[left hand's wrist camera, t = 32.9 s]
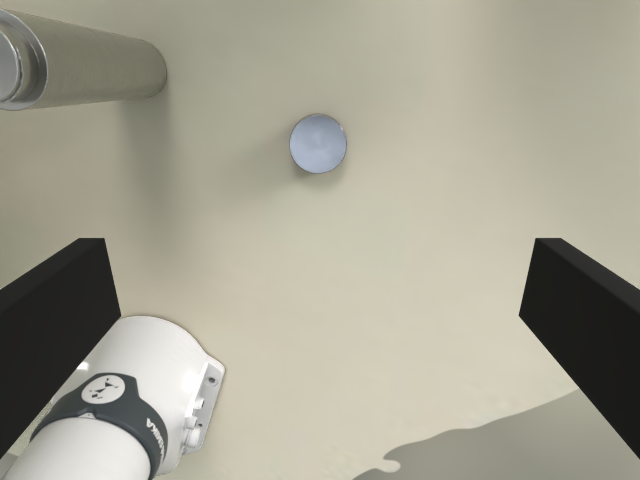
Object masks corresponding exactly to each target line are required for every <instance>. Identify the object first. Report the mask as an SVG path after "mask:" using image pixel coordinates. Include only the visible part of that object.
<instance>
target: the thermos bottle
mask: <svg viewBox="0 0 640 480" xmlns="http://www.w3.org/2000/svg"><path fill="white" fill-rule="evenodd" d="M166 75H167V72H166V65H165V62H164V59H163V57H162V56H161V54H160V53H159V51H158V50H157V49H156V48H155V47H154V46H153V45H151V44H150V43H148V42H146V41H143V40H140V39H135V38H131V37H126V36H122V35H117V34H113V33H108V32H104V31H99V30H95V29H91V28H86V27H82V26H77V25H73V24H68V23H64V22H59V21H55V20H50V19H46V18H42V17H37V16H33V15H28V14H24V13H19V12H15V11H10V10H6V9H1V8H0V109H3V110H10V111H17V110H28V109H38V108H48V107H58V106H67V105H77V104H87V103H97V102H107V101H117V100H127V99H137V98H147V97H151V96H154V95H155V94H157V93H158V92H159V91H160V90H161V89H162V88H163V86H164V84H165V81H166Z"/></svg>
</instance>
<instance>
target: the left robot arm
mask: <svg viewBox="0 0 640 480" xmlns="http://www.w3.org/2000/svg"><path fill="white" fill-rule="evenodd" d="M120 317H121V312H120V307H119V303H118V298H117V294H116V289H115V285H114V280H113V276H112V271H111V266H110V262H109V257H108V253H107V248H106V244H105V239H104V238H79V239H77V240H76V241H74V242H72V243H71V244H69V245H68V246H66V247H65V248H63V249H62V250H60V251H59V252H57V253H56V254H54V255H53V256H51V257H50V258H48V259H47V260H45V261H44V262H42V263H40V264H39V265H37V266H36V267H34V268H33V269H31V270H30V271H28V272H27V273H25V274H24V275H22V276H21V277H19V278H18V279H16V280H15V281H13V282H12V283H10V284H9V285H7V286H5V287H4V288H2V289H1V290H0V459H1V458H2V457H3V455H4V454H5V453H6V452H7V451H8V450H9V448H10V447H11V446H12V445H13V444H14V442H15V441H16V440H17V439H18V438H19V436H20V435H21V434H22V433H23V432H24V431H25V429H26V428H27V427H28V426H29V425H30V423H31V422H32V421H33V420H34V419H35V417H36V416H37V415H38V414H39V413H40V412H41V410H42V409H43V408H44V407H45V406H46V404H47V403H48V402H49V401H50V400H51V399H52V397H53V396H54V395H55V394H56V393H57V391H58V390H59V389H60V388H61V387H62V385H63V384H64V383H65V382H66V381H67V380H68V378H69V377H70V376H71V375H72V374H73V372H74V371H75V370H76V369H77V368H78V366H79V365H80V364H81V363H82V362H83V361H84V359H85V358H86V357H87V356H88V355H89V353H90V352H91V351H92V350H93V349H94V347H95V346H96V345H97V344H98V343H99V342H100V340H101V339H102V338H103V337H104V336H105V334H106V333H107V332H108V331H109V330H110V329H111V327H112V326H113V325H114V324H115V323H116V321H117V320H118V319H119V318H120ZM519 317H520V318H521V319H522V320H523V321H524V323H525V324H526V325H527V326H528V327H529V329H530V330H531V331H532V332H533V333H534V334H535V336H536V337H537V338H538V339H539V340H540V342H541V343H542V344H543V345H544V346H545V347H546V349H547V350H548V351H549V352H550V353H551V355H552V356H553V357H554V358H555V359H556V361H557V362H558V363H559V364H560V365H561V366H562V368H563V369H564V370H565V371H566V372H567V374H568V375H569V376H570V377H571V378H572V380H573V381H574V382H575V383H576V384H577V385H578V387H579V388H580V389H581V390H582V391H583V393H584V394H585V395H586V396H587V397H588V399H589V400H590V401H591V402H592V403H593V404H594V406H595V407H596V408H597V409H598V410H599V412H600V413H601V414H602V415H603V416H604V417H605V419H606V420H607V421H608V422H609V423H610V425H611V426H612V427H613V428H614V429H615V431H616V432H617V433H618V434H619V435H620V436H621V438H622V439H623V440H624V441H625V442H626V444H627V445H628V446H629V447H630V448H631V449H632V451H633V452H634V453H635V454H636V455H637V457H638V458H639V459H640V290H639V289H638V288H636V287H635V286H633V285H631V284H630V283H628V282H627V281H625V280H624V279H622V278H621V277H619V276H618V275H616V274H615V273H613V272H612V271H610V270H609V269H607V268H606V267H604V266H603V265H601V264H600V263H598V262H596V261H595V260H593V259H592V258H590V257H589V256H587V255H586V254H584V253H583V252H581V251H580V250H578V249H577V248H575V247H574V246H572V245H571V244H569V243H568V242H566V241H564V240H563V239H561V238H536V239H535V244H534V248H533V253H532V257H531V262H530V266H529V271H528V276H527V280H526V285H525V289H524V294H523V298H522V303H521V307H520V312H519Z"/></svg>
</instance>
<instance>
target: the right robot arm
mask: <svg viewBox="0 0 640 480" xmlns="http://www.w3.org/2000/svg"><path fill="white" fill-rule="evenodd" d="M224 373H225V368H224V366H223V365H222V364H221V363H220V362H218V361H217V360H215V359H214V358H212V357H211V356H209V355H207V354H206V353H205V351H204V350H203V349H202V348H201V346H200V345H199V344H198V342H197V341H196V340H195V339H194V338H193V337H192V336H191V335H190V334H189V333H188V332H187V331H185V330H184V329H182V328H181V327H179V326H177V325H176V324H174V323H171V322H169V321H167V320H164V319H160V318H156V317H150V316H131V317H126V318H122V319H119V320H117V321H116V323H115V324H114V325H113V326H112V327H111V329H110V330H109V331H108V332H107V333H106V334H105V336H104V337H103V338H102V339H101V340H100V342H99V343H98V344H97V345H96V346H95V347H94V349H93V350H92V351H91V352H90V353H89V355H88V356H87V357H86V358H85V359H84V361H83V362H82V363H81V364H80V365H79V366H78V368H77V369H76V370H75V371H74V372H73V374H72V375H71V376H70V377H69V378H68V380H67V381H66V382H65V383H64V384H63V385H62V387H61V388H60V389H59V390H58V391H57V393H56V394H55V395H54V396H53V397H52V399H51V404H52V408H50V409H49V411H48V412H47V413H46V414H45V415H44V416H43V418H42V419H41V420H40V422H39V424H38V426H37V428H36V429H35V430H34V432H33V434H32V436H31V438H30V443H29V445H28V446H27V447H26V449H25V450H24V451H23V452H22V454H21V455H20V456H19V457H18V459H17V460H16V461H15V462H14V464H13V465H12V466H11V467H10V469H9V470H8V471H7V472H6V474H5V475H4V476H3V478H2V479H1V480H152V479H153V478H155V476H158V475H163V474H166V473H168V472H171V471H172V470H174V469H175V468H176V466H177V464H178V462H179V459H180V457H181V455H184V454H189V453H192V452H195V451H198V450H199V449H200V448H201V446H202V444H203V442H204V438H205V435H206V432H207V429H208V425H209V422H210V419H211V416H212V412H213V409H214V406H215V403H216V399H217V396H218V393H219V390H220V386H221V383H222V380H223V376H224ZM211 378H214V379H211Z"/></svg>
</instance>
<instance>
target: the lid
mask: <svg viewBox="0 0 640 480" xmlns="http://www.w3.org/2000/svg"><path fill="white" fill-rule="evenodd" d="M289 146H290V152H291V155H292V157H293V159H294V161H295V162H296V163H297V164H298V165H299V166H300V167H301V168H302V169H304V170H306V171H308V172H311V173H325V172H328V171H330V170H332V169H334V168H335V167H337V166H338V165H339V164H340V162H341V161H342V159H343V158H344V156H345V153H346V148H347V141H346V136H345V133H344V131H343V129H342V127H341V126H340V124H339V123H338V122H337V121H336V120H335V119H333V118H332V117H330V116H328V115H324V114H312V115H309V116H306V117H304V118H303V119H301V120H300V121H299V122H298V123H297V125H296V126H295V128H294V129H293V131H292V133H291V137H290V144H289Z"/></svg>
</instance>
